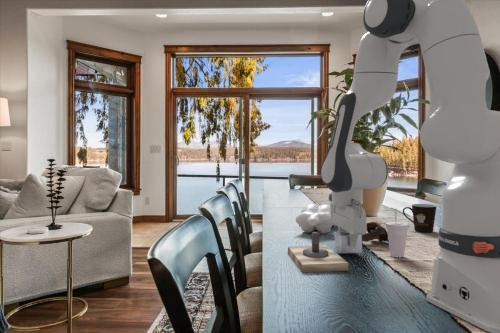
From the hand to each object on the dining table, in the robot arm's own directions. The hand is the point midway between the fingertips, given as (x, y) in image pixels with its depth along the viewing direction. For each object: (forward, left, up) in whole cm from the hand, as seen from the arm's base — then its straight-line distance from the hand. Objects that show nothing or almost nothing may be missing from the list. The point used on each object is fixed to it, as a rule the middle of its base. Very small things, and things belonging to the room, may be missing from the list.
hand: (347, 244), depth 109 cm
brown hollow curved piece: (+13, -14, -3) cm, 19 cm away
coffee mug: (+30, -41, -3) cm, 50 cm away
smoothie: (-3, -14, -3) cm, 14 cm away
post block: (-5, +11, -3) cm, 13 cm away
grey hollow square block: (0, 0, -2) cm, 2 cm away
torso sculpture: (+35, -1, -4) cm, 35 cm away
